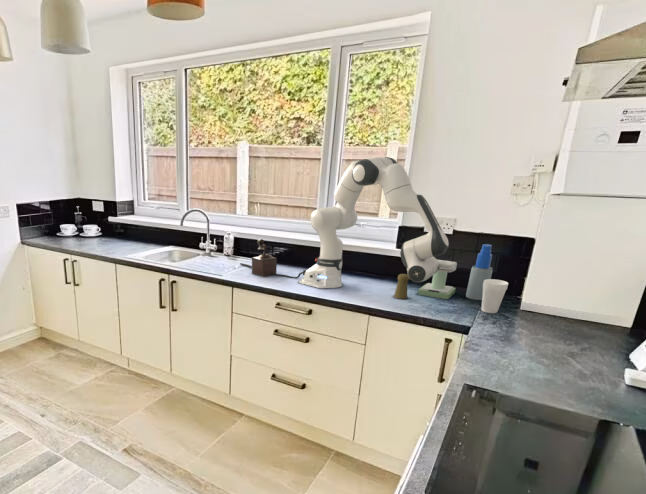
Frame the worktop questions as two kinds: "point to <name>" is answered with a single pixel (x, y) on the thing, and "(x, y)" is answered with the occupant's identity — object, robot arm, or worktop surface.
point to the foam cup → (493, 294)
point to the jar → (439, 280)
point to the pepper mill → (263, 262)
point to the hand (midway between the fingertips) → (436, 261)
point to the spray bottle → (480, 273)
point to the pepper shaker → (402, 286)
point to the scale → (436, 291)
